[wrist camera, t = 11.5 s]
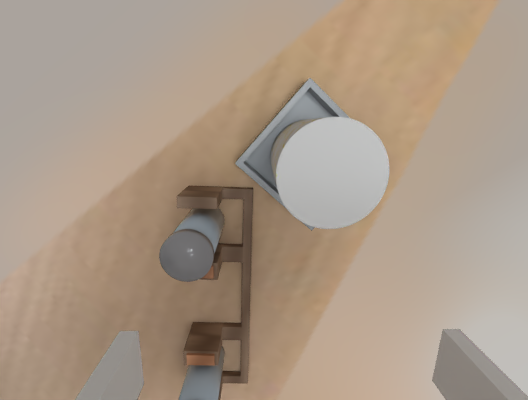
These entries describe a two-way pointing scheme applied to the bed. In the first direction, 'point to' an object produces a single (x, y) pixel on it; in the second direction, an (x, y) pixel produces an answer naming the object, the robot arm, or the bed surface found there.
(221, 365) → the fuse
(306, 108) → the tray
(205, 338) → the clip rack
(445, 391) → the robot arm
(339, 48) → the bed surface
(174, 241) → the grey rounded cylinder
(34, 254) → the bed surface
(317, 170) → the light grey canister
